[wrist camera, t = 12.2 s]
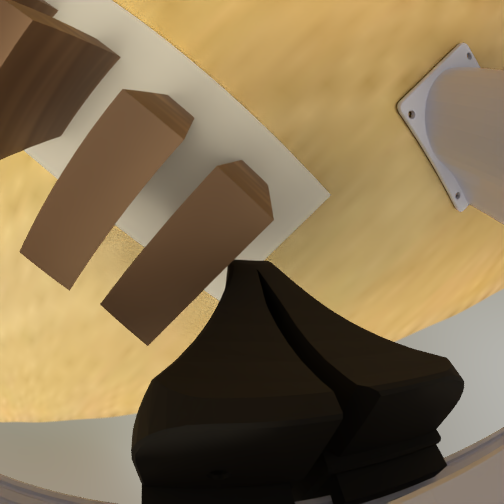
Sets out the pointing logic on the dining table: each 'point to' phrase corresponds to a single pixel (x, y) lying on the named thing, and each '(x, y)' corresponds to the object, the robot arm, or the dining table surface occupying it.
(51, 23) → the brown wooden block
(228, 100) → the mat
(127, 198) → the brown wooden block
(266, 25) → the dining table surface
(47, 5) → the brown wooden block
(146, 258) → the tile
